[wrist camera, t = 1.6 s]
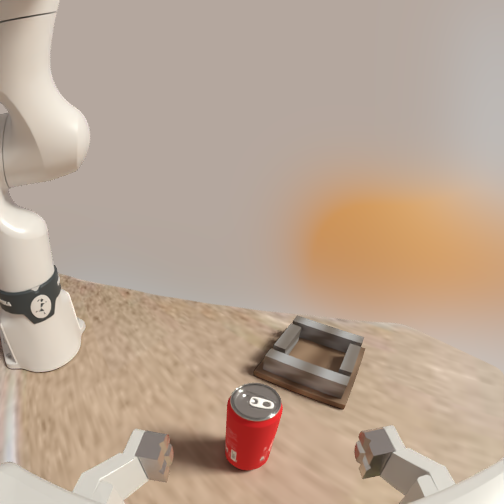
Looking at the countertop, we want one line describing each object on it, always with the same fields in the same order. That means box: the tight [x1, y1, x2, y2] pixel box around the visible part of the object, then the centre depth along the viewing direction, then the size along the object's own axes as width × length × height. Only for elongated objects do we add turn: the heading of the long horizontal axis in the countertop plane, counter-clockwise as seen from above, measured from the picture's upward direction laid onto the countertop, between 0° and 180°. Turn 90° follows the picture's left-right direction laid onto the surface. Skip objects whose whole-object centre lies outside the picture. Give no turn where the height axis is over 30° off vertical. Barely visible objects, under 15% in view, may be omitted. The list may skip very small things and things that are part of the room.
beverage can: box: [225, 383, 282, 470], centre depth 26 cm, size 5×5×12 cm
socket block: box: [254, 316, 365, 409], centre depth 45 cm, size 15×15×4 cm
